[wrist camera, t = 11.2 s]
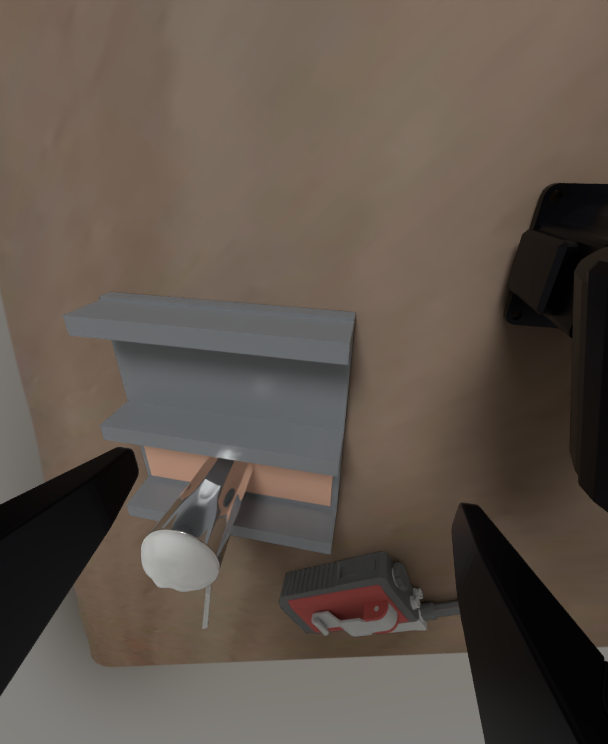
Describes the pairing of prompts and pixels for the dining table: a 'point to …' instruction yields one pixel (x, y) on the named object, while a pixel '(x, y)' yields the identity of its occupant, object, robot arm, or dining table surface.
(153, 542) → the milkshake
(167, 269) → the dining table surface
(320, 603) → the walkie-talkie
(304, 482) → the grey slotted tray
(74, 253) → the dining table surface
